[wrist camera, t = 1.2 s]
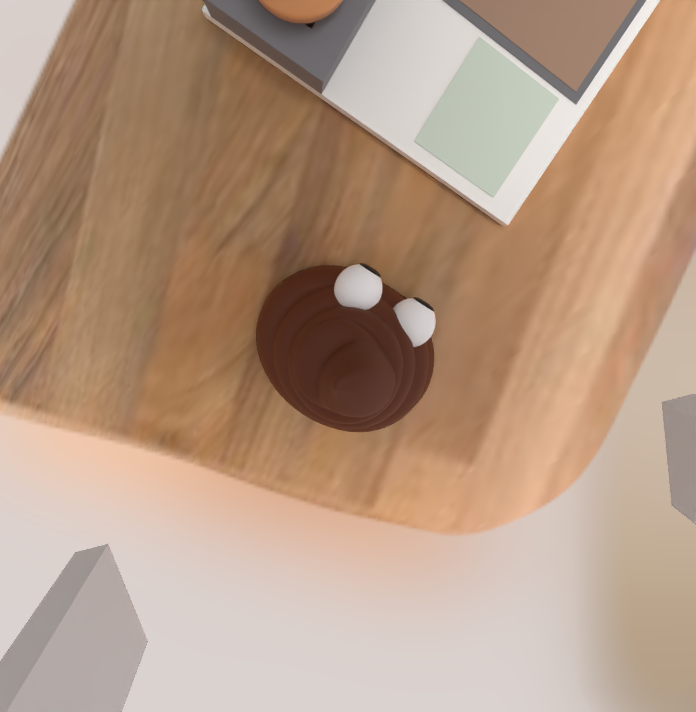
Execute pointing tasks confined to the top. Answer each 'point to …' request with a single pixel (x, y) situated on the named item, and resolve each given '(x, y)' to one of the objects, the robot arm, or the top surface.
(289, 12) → the button
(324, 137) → the top surface
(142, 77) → the top surface
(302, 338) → the poop emoji
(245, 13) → the picture board
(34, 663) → the robot arm
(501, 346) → the top surface
